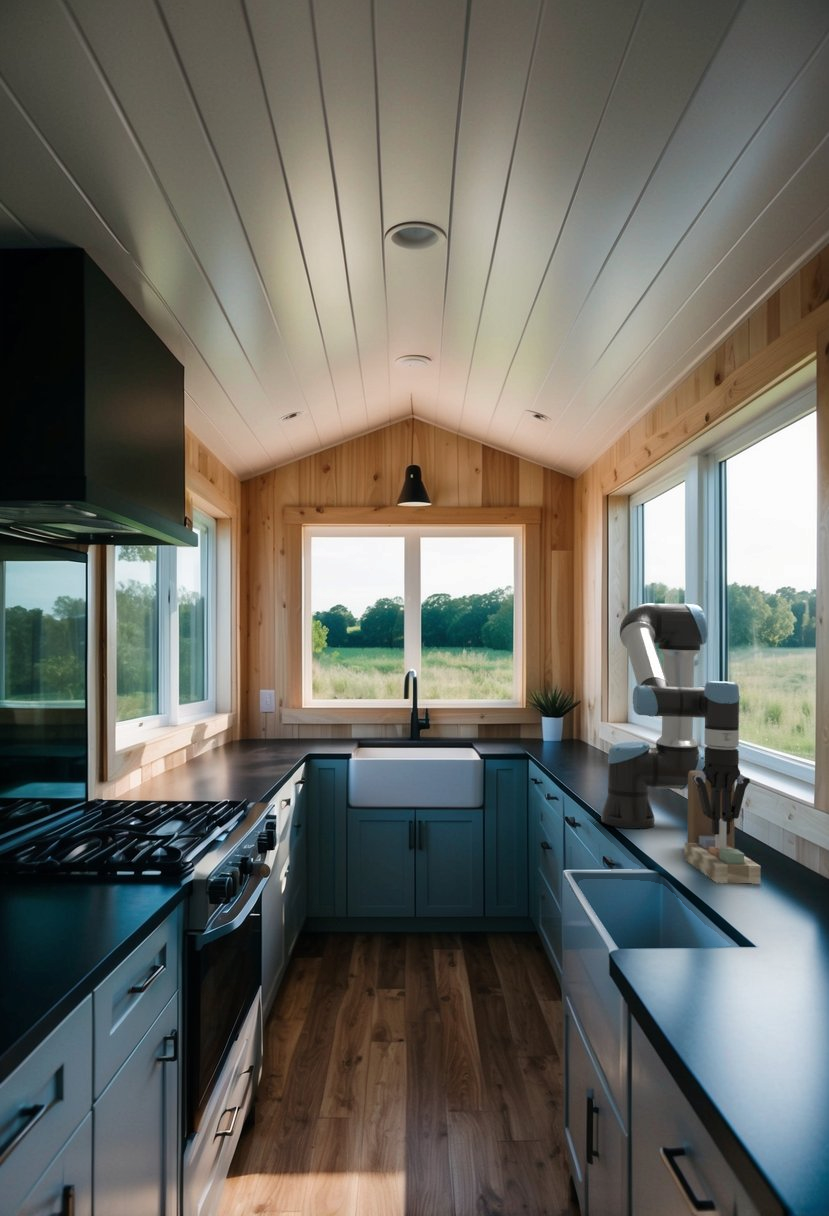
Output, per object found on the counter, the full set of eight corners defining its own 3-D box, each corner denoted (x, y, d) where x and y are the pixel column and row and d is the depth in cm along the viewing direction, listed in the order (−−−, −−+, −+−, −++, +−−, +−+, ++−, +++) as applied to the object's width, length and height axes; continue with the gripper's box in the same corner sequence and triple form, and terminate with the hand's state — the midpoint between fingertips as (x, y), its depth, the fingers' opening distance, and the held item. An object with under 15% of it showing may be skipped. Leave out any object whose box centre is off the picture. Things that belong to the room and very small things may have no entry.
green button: (719, 866, 179) (719, 848, 179) (736, 866, 179) (736, 849, 179) (726, 871, 175) (726, 853, 175) (744, 871, 175) (744, 853, 175)
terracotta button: (708, 863, 185) (708, 846, 185) (725, 864, 185) (725, 847, 185) (715, 868, 181) (715, 851, 181) (732, 869, 181) (732, 851, 181)
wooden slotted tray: (684, 859, 192) (684, 842, 192) (724, 859, 192) (724, 843, 193) (715, 883, 173) (716, 865, 173) (760, 884, 173) (760, 865, 174)
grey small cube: (698, 852, 191) (699, 835, 191) (715, 852, 191) (715, 835, 191) (705, 856, 187) (705, 839, 187) (721, 856, 187) (722, 839, 187)
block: (734, 859, 193) (735, 778, 194) (692, 856, 195) (693, 775, 196) (727, 849, 203) (727, 771, 204) (686, 846, 205) (687, 769, 206)
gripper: (700, 748, 180) (699, 852, 179) (756, 749, 180) (755, 853, 179) (688, 744, 188) (687, 843, 187) (741, 745, 188) (741, 844, 187)
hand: (720, 848), depth 183 cm, fingers closed
